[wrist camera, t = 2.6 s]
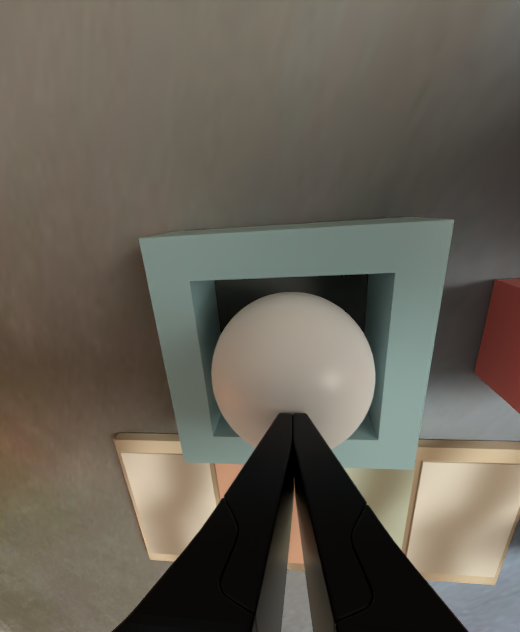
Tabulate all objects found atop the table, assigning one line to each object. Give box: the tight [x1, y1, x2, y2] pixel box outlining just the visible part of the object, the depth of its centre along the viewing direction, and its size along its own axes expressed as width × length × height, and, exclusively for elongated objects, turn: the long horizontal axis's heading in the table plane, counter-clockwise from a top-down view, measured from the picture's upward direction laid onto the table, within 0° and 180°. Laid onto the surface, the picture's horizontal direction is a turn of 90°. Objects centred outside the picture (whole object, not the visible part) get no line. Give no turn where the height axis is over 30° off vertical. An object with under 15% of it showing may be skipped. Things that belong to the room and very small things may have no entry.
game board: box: [114, 433, 520, 585], centre depth 19 cm, size 25×12×1 cm, turn 94°
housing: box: [139, 217, 455, 470], centre depth 14 cm, size 11×11×4 cm
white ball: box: [211, 292, 375, 449], centre depth 12 cm, size 6×6×6 cm
